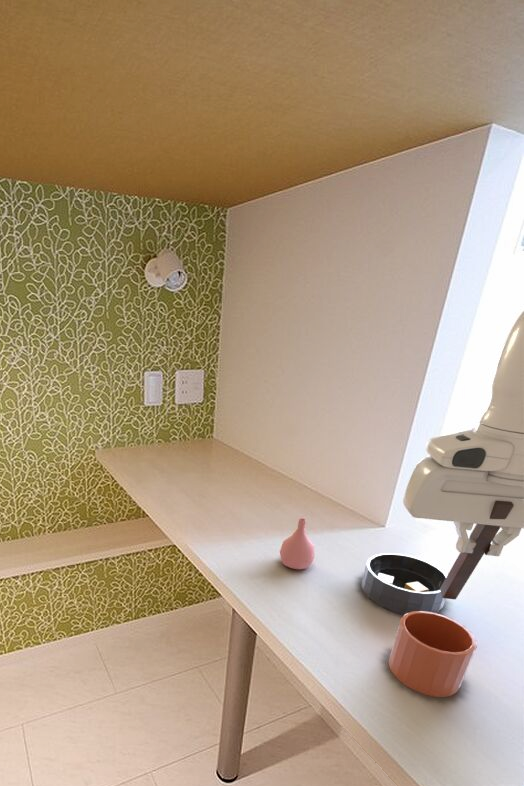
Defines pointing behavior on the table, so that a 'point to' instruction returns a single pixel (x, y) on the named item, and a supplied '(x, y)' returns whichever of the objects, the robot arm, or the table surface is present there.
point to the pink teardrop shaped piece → (297, 549)
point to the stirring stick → (470, 560)
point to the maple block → (386, 578)
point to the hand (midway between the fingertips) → (476, 552)
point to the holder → (431, 653)
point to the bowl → (403, 583)
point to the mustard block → (416, 587)
